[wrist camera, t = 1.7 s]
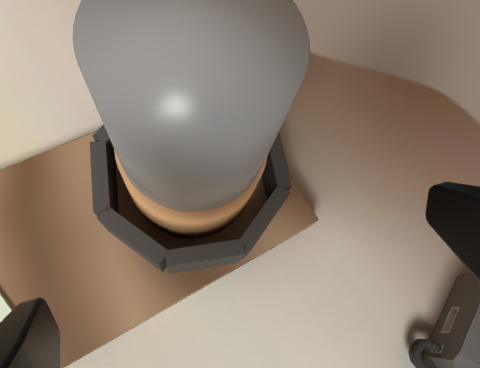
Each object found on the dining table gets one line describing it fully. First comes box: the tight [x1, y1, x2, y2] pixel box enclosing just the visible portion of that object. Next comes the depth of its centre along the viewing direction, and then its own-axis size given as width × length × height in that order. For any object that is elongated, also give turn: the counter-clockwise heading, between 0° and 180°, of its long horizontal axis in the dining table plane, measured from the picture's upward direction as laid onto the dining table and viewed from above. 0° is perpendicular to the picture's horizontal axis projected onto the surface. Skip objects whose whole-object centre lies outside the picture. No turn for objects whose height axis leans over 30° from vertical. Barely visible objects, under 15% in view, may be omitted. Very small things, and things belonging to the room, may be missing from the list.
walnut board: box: [0, 132, 319, 368], centre depth 18 cm, size 25×10×2 cm, turn 120°
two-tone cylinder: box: [73, 0, 310, 238], centre depth 15 cm, size 6×6×11 cm
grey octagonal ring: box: [90, 125, 292, 274], centre depth 18 cm, size 10×10×2 cm
